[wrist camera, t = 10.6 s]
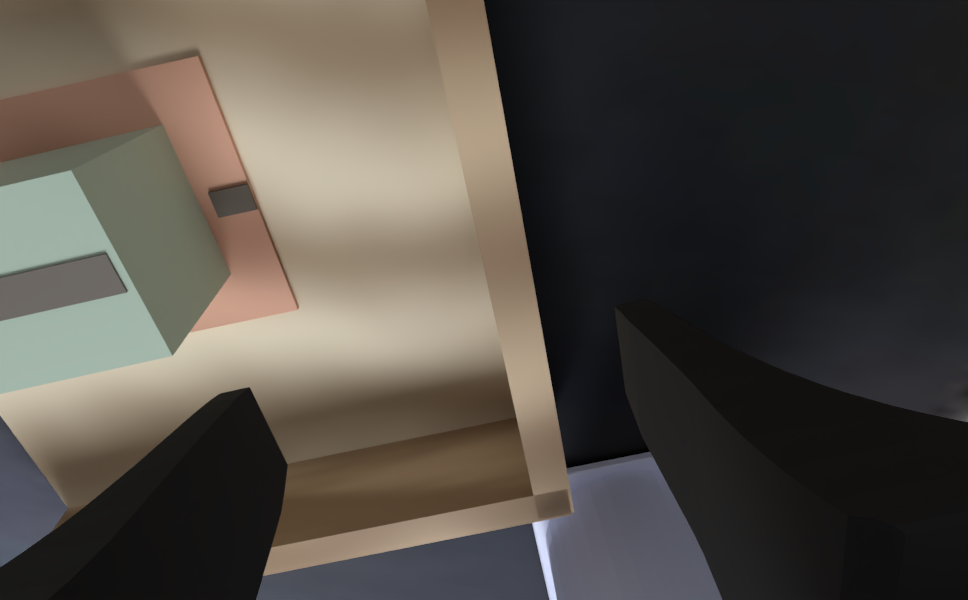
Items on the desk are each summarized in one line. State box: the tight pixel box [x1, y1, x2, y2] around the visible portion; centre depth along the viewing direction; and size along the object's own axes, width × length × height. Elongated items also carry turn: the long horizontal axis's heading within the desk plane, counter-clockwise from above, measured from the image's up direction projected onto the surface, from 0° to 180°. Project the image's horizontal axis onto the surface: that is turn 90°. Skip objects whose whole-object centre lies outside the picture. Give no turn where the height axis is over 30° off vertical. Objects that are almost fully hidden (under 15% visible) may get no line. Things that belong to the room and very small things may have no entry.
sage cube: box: [0, 124, 231, 394], centre depth 16 cm, size 5×5×5 cm
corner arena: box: [0, 0, 574, 576], centre depth 18 cm, size 19×19×5 cm
